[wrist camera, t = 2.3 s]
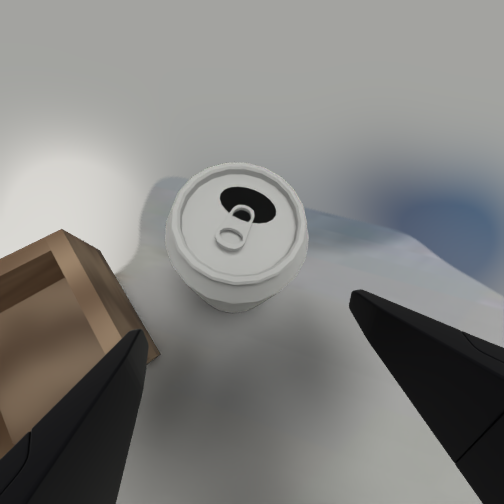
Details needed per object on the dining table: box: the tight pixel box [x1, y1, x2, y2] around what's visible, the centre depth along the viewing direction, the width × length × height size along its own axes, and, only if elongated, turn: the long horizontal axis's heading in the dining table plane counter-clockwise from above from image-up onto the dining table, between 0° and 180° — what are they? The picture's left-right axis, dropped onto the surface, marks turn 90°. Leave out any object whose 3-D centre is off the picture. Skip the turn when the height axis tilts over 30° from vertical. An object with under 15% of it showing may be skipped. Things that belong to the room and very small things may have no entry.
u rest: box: [0, 229, 160, 459], centre depth 15 cm, size 11×11×5 cm
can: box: [165, 163, 309, 313], centre depth 15 cm, size 8×8×12 cm
